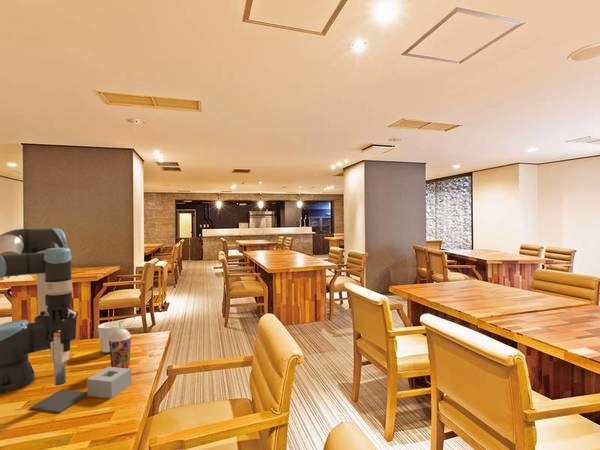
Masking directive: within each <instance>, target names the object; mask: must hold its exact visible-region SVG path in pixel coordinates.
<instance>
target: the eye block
mask: <svg viewBox="0 0 600 450" xmlns="http://www.w3.org/2000/svg"><path fill="white" fill-rule="evenodd" d="M86 381H87V382H86V383H87V384H86V385H87V386H86V387H87V388H86V389H87V391H86V392H87V394H88V396H89V397H95V398H97V397H98V398H106V399H113V398H115V397H116V396H117V395H119V394H120V393H121V392H123V391H124V390H125V389H127V388H129V386H132V368H128V369H127V368H117V367H111V366H107V367H105V368H104V369H102V370H100V371H98V372H97V373H95V374H94V375H92V376H90V377H88V378H87V379H86Z"/></svg>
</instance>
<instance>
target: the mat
mask: <svg viewBox="0 0 600 450" xmlns="http://www.w3.org/2000/svg"><path fill="white" fill-rule="evenodd" d="M87 396H88V394H87V391H81V390H71V389H65V388H62V389H59V390H58V391H56V392H54V393H53V394H51V395H49V396H47V397H45V398H44V399H42V400H40V401H38V402H36V403H35V404H33V405H31V406H29V410H33V411H41V412H46V413H47V412H48V413H55V414H61V413H62V412H64V411H66V410H67V409H68V408H71V406H73V405H75V404H77V403H78V402H80V401H81V400H83V399H84V398H86V397H87Z"/></svg>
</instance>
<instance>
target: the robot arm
mask: <svg viewBox="0 0 600 450" xmlns="http://www.w3.org/2000/svg"><path fill="white" fill-rule="evenodd" d="M72 258H73V256H72V250H71V248H69V247H68V244H67V237H66V234H65V232H64V231H63V230H62V229H61V228H54V227H49V228H18V229H13V230H9V231H6V232H4V233H2V234H0V278H8V277H17V276H26V275H27V276H28V275H36V286H37V287H36V289H37V302H38V303H37V304H38V305H37V306H38V307H37V308H38V314H36V315H35V317H34V318H33V320H34V321H33V322H29V321H28V320H27V319H16V320H11V321H8V322H5V323H1V324H0V395H1V394H5V393H9V392H14V391H16V390H19V389H21V388H24V387H26V386H28V385H30V384H31V383H32V382H34V380H35V379H36V378H35V376H36V375H35V373H36V372H35V371H34V369H33V367H32V364H31V362H30V361H29V354H32V353H33V354H34V353H37V352H42V351H46V350H49V351H50V361H51V362H54V341H53V332H55V331H59V330H60V331H61V338H62V342H60V362H64V361H65V362H66V361H68V360H70V351H71V343H72V341H73V340H75V339H76V335H77V317H78V315H79V311H73V309H72V307H71V303H72V302H73V293H72V290H73V284H72V283H73V281H72V260H73V259H72Z"/></svg>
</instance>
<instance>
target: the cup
mask: <svg viewBox="0 0 600 450" xmlns="http://www.w3.org/2000/svg"><path fill="white" fill-rule="evenodd" d="M119 322H120V321H115V320H114V321H108V322H103V323H101V324H99V325H98V326H97V332H98V340H99V346H100V352H101V353H102V354H103V355H104V354H107V353H108V354H110V347H109V338H110V336H111V334H112V333H113V332H114V331H115V330H117V329H119ZM122 324H123V323H122V322H121V325H122Z"/></svg>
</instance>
